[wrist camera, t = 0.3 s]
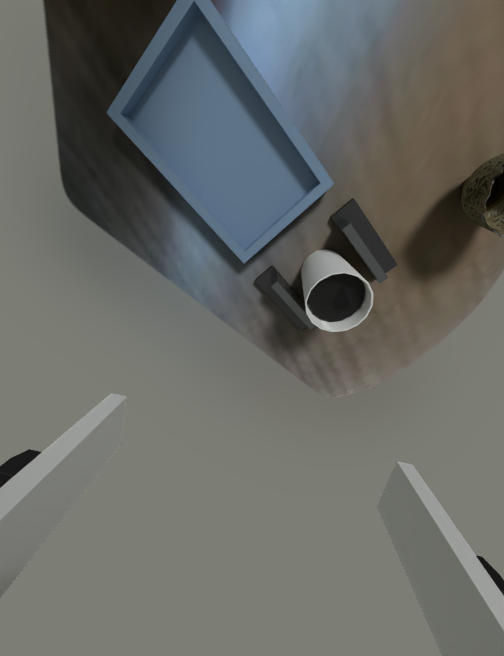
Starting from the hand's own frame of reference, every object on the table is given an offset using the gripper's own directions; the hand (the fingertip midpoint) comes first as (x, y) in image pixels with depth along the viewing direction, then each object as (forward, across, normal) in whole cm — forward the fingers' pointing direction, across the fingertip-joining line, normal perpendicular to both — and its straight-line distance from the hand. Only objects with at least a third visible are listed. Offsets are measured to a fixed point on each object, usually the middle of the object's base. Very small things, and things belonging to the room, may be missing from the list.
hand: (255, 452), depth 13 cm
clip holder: (+26, +6, +9) cm, 28 cm away
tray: (+22, -9, +19) cm, 31 cm away
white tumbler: (+26, +6, +9) cm, 28 cm away
